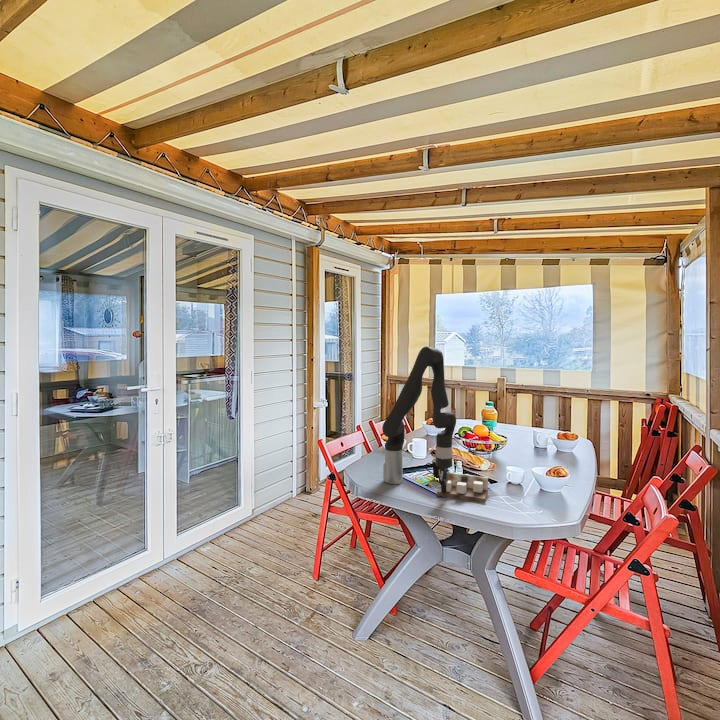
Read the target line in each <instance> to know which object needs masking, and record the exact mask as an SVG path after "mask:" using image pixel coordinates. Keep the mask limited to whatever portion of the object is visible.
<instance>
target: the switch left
mask: <svg viewBox="0 0 720 720" xmlns="http://www.w3.org/2000/svg"><path fill="white" fill-rule="evenodd" d="M451 489H452V481H449V480H448V482H447V492H450V491H451Z"/></svg>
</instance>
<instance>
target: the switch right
mask: <svg viewBox="0 0 720 720" xmlns="http://www.w3.org/2000/svg"><path fill="white" fill-rule="evenodd" d="M482 491H483V482H481V481H474V483H473V492H479V493H482Z"/></svg>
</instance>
